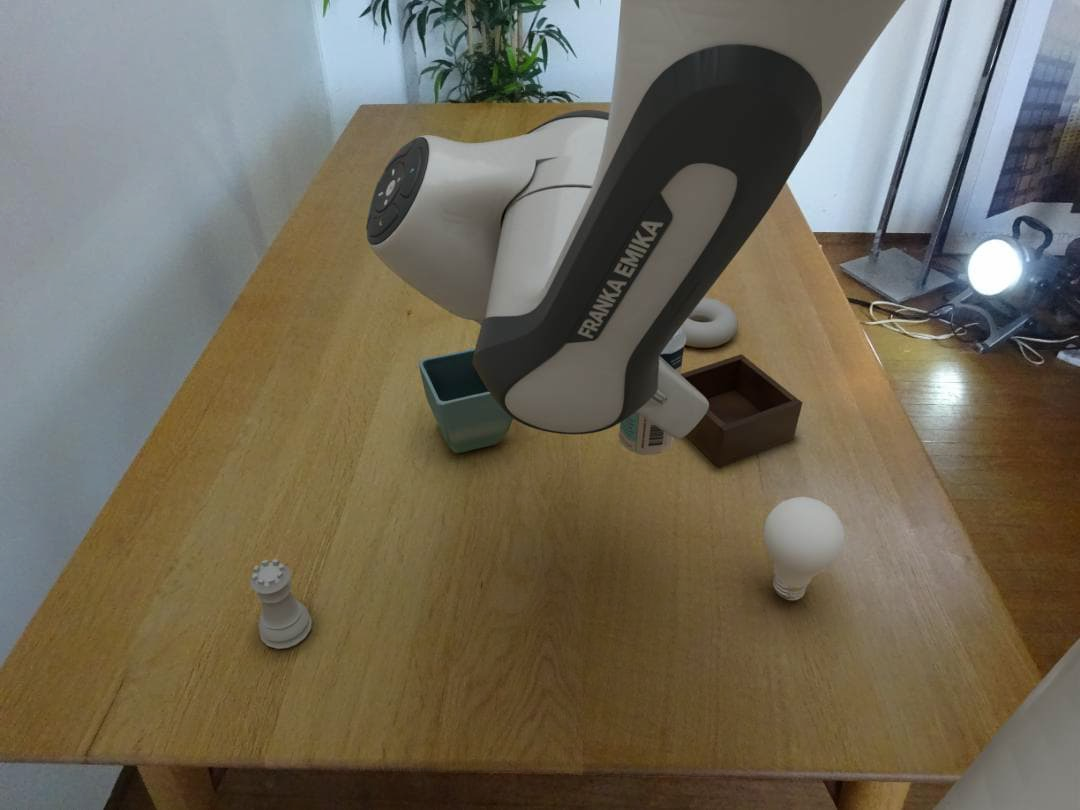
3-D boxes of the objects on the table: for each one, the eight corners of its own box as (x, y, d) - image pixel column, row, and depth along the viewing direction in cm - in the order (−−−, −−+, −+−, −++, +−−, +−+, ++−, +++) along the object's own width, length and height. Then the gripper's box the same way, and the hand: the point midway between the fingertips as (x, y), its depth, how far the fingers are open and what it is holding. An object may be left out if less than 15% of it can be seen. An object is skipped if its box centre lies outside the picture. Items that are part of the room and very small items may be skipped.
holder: (793, 439, 91) (802, 402, 88) (717, 468, 88) (724, 430, 84) (735, 389, 99) (741, 353, 96) (663, 414, 95) (667, 378, 92)
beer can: (680, 435, 72) (696, 320, 65) (659, 466, 69) (673, 349, 62) (632, 418, 74) (642, 305, 67) (609, 447, 71) (616, 332, 63)
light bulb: (822, 631, 71) (851, 546, 64) (745, 611, 73) (766, 526, 66) (826, 575, 76) (853, 490, 69) (754, 558, 78) (774, 474, 71)
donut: (706, 307, 115) (647, 323, 111) (709, 285, 112) (649, 301, 109) (751, 341, 108) (689, 360, 104) (755, 319, 105) (693, 337, 102)
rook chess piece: (261, 657, 69) (239, 597, 64) (260, 616, 72) (239, 556, 68) (314, 644, 70) (297, 584, 65) (311, 605, 73) (294, 545, 69)
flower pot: (495, 405, 97) (492, 343, 91) (520, 450, 90) (519, 386, 85) (424, 422, 94) (416, 359, 89) (444, 470, 88) (438, 405, 82)
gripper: (666, 343, 50) (763, 419, 60) (522, 217, 65) (619, 295, 74) (602, 419, 52) (707, 482, 61) (473, 279, 66) (575, 348, 75)
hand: (657, 378), depth 68 cm, fingers closed on beer can, 5 cm apart
